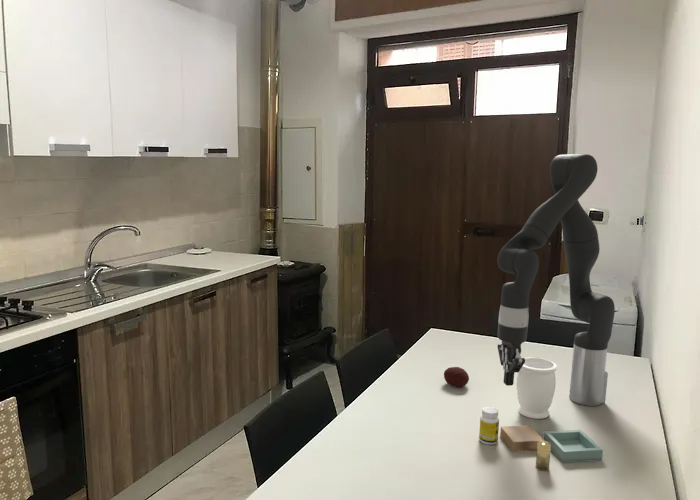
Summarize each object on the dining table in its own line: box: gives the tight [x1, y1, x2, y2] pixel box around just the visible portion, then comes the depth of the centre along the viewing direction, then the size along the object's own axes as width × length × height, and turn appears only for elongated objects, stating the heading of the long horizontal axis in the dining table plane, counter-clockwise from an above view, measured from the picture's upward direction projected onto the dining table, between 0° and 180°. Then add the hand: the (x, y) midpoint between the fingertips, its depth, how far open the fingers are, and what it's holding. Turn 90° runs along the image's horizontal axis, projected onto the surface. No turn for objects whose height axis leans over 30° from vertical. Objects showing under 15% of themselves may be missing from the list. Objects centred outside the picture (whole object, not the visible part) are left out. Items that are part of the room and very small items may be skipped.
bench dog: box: [535, 441, 552, 472], centre depth 129 cm, size 3×3×6 cm
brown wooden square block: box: [499, 425, 544, 453], centre depth 141 cm, size 8×8×3 cm
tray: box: [543, 429, 604, 463], centre depth 137 cm, size 10×10×3 cm
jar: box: [516, 356, 558, 420], centre depth 157 cm, size 11×10×15 cm
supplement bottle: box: [478, 406, 500, 446], centre depth 141 cm, size 5×5×8 cm
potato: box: [443, 366, 470, 389], centre depth 176 cm, size 7×8×6 cm
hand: (508, 384), depth 148 cm, fingers closed
